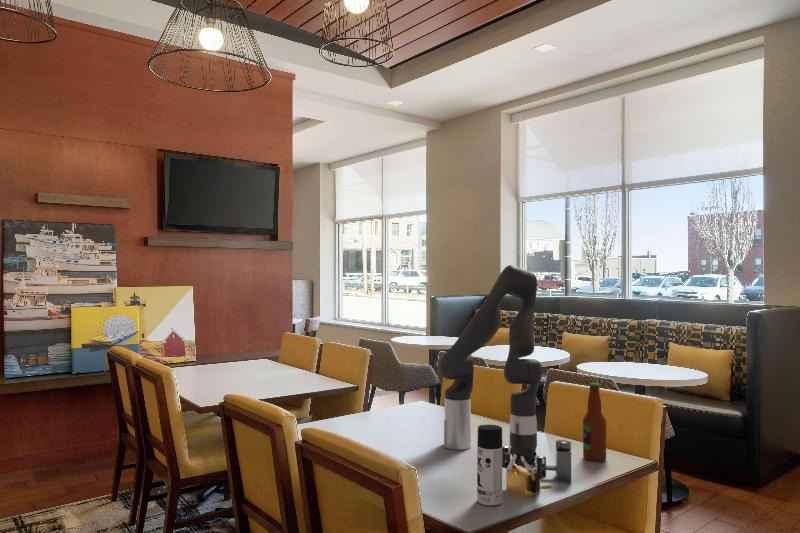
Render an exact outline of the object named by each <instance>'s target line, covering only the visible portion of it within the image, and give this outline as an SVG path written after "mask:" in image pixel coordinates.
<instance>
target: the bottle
mask: <svg viewBox="0 0 800 533" xmlns="http://www.w3.org/2000/svg"><path fill="white" fill-rule="evenodd" d="M588 390H589V393H588V399H587V412H586V413H585V415H584V417H583V418H582V434H583V435H582V452H583V453H582V456H583V458H584V459H585V460H587V461H589V462H595V463H601V462H604V461H605V460H606V459H607V419H606V418H605V416H604V415H603V412H602V400H601V395H600V384H599V383H598V382H590V383H589V388H588Z"/></svg>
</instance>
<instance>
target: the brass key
mask: <svg viewBox="0 0 800 533" xmlns="http://www.w3.org/2000/svg"><path fill="white" fill-rule="evenodd" d="M552 486H553V485H552V484H551V483H544V484H543V483H540V489H547V488H549V489H550V488H553V487H552Z"/></svg>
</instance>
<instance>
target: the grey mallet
mask: <svg viewBox="0 0 800 533" xmlns="http://www.w3.org/2000/svg"><path fill="white" fill-rule="evenodd" d="M571 450H572V442H571V441H570V440H565V439H558V440H555V465H547V464H546V471H553V472H555V478H556V482H557V483H565V484H566V483H568V484H571V483H572V451H571ZM531 468H533V466H531Z"/></svg>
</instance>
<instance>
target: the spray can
mask: <svg viewBox="0 0 800 533" xmlns="http://www.w3.org/2000/svg"><path fill="white" fill-rule="evenodd" d="M476 445H477V448H476V449H477V456H476V457H477V459H476V460H477V462H476V464H477V466H476V468H477V469H476V470H477V473H476V475H477V478H476V482H477V484H476V486H477V487H476V494H477V495H476V499H477V502H478V504H480V505H482V506H486V507H498V506H500V505H501V504H502V502H503V467H502V447H503V428H502V426H501V425H497V424H479V426H477V444H476Z"/></svg>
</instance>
